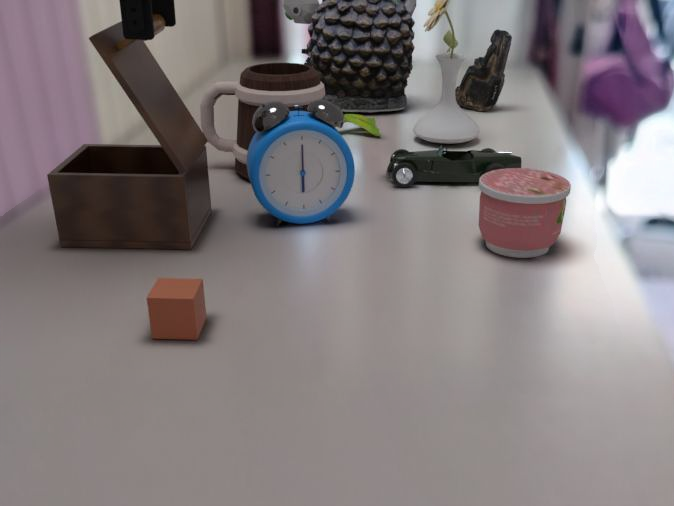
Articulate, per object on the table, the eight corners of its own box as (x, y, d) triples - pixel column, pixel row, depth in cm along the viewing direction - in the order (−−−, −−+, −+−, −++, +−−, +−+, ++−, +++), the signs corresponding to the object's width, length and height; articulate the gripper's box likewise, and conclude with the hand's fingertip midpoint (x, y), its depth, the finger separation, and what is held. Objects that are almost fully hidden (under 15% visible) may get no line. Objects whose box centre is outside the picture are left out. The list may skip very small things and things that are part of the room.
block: (151, 339, 76) (146, 297, 74) (163, 317, 80) (158, 277, 78) (197, 340, 76) (193, 298, 74) (206, 318, 80) (202, 278, 78)
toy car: (384, 169, 123) (385, 137, 120) (514, 170, 123) (518, 138, 120) (387, 189, 114) (388, 155, 112) (526, 190, 115) (530, 156, 112)
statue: (462, 101, 163) (467, 22, 155) (511, 111, 155) (519, 29, 148) (444, 106, 159) (450, 25, 152) (494, 116, 152) (502, 32, 144)
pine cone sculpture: (412, 100, 164) (417, -35, 151) (415, 118, 150) (422, -28, 138) (310, 99, 164) (307, -36, 151) (305, 117, 151) (302, -29, 138)
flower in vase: (422, 129, 144) (429, -24, 131) (484, 134, 140) (498, -22, 128) (401, 148, 133) (407, -17, 121) (469, 154, 130) (482, -14, 117)
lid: (88, 38, 84) (129, 11, 82) (123, 21, 95) (159, -4, 93) (180, 174, 91) (219, 152, 89) (203, 143, 102) (238, 123, 100)
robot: (361, 108, 186) (259, 37, 188) (397, 49, 180) (291, -23, 183) (348, 105, 175) (239, 30, 177) (386, 42, 169) (273, -35, 172)
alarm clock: (253, 229, 101) (246, 108, 93) (249, 213, 106) (241, 97, 98) (355, 222, 103) (356, 104, 96) (345, 206, 108) (345, 93, 101)
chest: (60, 247, 96) (46, 174, 91) (94, 210, 107) (83, 143, 102) (191, 249, 95) (183, 177, 91) (211, 212, 106) (206, 145, 102)
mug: (339, 158, 127) (339, 60, 120) (324, 189, 114) (323, 81, 107) (218, 153, 130) (210, 56, 122) (190, 183, 117) (179, 76, 109)
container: (506, 269, 91) (514, 201, 87) (457, 237, 99) (462, 174, 95) (580, 253, 95) (590, 188, 91) (526, 224, 103) (534, 163, 99)
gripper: (121, -146, 88) (138, 20, 97) (67, -154, 73) (93, 44, 82) (189, -144, 88) (200, 22, 96) (148, -152, 73) (165, 46, 81)
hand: (151, 32), depth 89 cm, fingers open, 9 cm apart
